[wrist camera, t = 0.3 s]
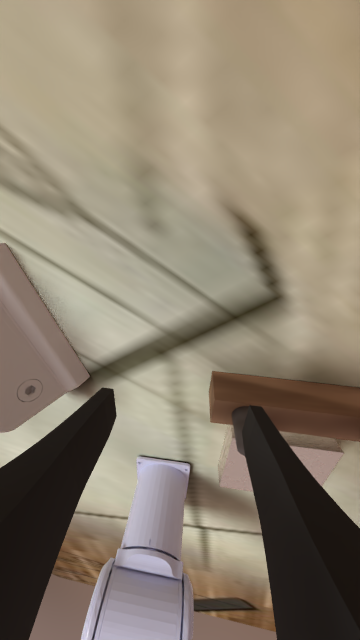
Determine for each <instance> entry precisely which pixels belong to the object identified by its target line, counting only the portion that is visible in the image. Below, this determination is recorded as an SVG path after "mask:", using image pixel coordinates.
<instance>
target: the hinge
mask: <svg viewBox="0 0 360 640" xmlns="http://www.w3.org/2000/svg"><path fill="white" fill-rule="evenodd" d="M89 377H90V375H89V374H88V372H87V371H86V369H85V367H84V366H83V364H82V363H81V361H80V360H79V358H78V356H77V355H76V353H75V352H74V350H73V349H72V347H71V346H70V344H69V342H68V341H67V339H66V338H65V336H64V335H63V333H62V331H61V330H60V328H59V327H58V325H57V324H56V322H55V320H54V319H53V317H52V316H51V314H50V313H49V311H48V309H47V308H46V306H45V305H44V303H43V302H42V300H41V299H40V297H39V295H38V294H37V292H36V291H35V289H34V288H33V286H32V284H31V283H30V281H29V280H28V278H27V277H26V275H25V273H24V272H23V270H22V269H21V267H20V266H19V264H18V262H17V261H16V259H15V258H14V256H13V255H12V253H11V252H10V250H9V248H8V247H7V245H6V244H5V243H1V244H0V433H2V432H9V431H12V430H14V429H16V428H17V427H19V426H20V425H22V424H23V423H24V422H26V421H27V420H29V419H30V418H31V417H33V416H34V415H36V414H37V413H38V412H40V411H41V410H43V409H44V408H46V407H47V406H48V405H50V404H51V403H53V402H54V401H55V400H57V399H58V398H60V397H61V396H62V395H64V394H65V393H67V392H69V391H71V390H73V389H75V388H77V387H79V386H80V385H81V384H82V383H83V382H85V381H86V380H87V379H88V378H89Z"/></svg>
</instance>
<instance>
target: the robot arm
mask: <svg viewBox="0 0 360 640" xmlns="http://www.w3.org/2000/svg"><path fill="white" fill-rule="evenodd" d="M115 419H116V407H115V399H114V391H113V389H108V388H102V389H100V390H99V391H98V392H97V393H96V394H95V395H94V396H92V397H91V398H90V399H89V400H88V401H87V402H86V403H85V404H83V405H82V406H81V407H80V408H79V409H78V410H77V411H75V412H74V413H73V414H72V415H71V416H70V417H68V418H67V419H66V420H65V421H64V422H63V423H61V424H60V425H59V426H58V427H56V428H55V429H54V430H53V431H51V432H50V433H49V434H48V435H46V436H45V437H44V438H42V439H41V440H40V441H38V442H37V443H36V444H34V445H33V446H32V447H30V448H29V449H28V450H26V451H25V452H23V453H22V454H21V455H19V456H18V457H16V458H15V459H13V460H12V461H10V462H9V463H7V464H6V465H4V466H3V467H1V468H0V640H29V637H30V634H31V631H32V628H33V625H34V622H35V619H36V616H37V613H38V610H39V607H40V604H41V602H42V599H43V596H44V592H45V590H46V587H47V584H48V582H49V579H50V576H51V573H52V570H53V568H54V565H55V562H56V559H57V556H58V554H59V551H60V548H61V546H62V543H63V540H64V538H65V535H66V532H67V530H68V527H69V525H70V522H71V519H72V517H73V514H74V512H75V509H76V507H77V504H78V502H79V499H80V497H81V494H82V492H83V490H84V488H85V485H86V483H87V481H88V479H89V477H90V475H91V473H92V471H93V469H94V467H95V465H96V463H97V461H98V459H99V456H100V454H101V452H102V450H103V448H104V446H105V444H106V442H107V440H108V438H109V435H110V433H111V430H112V427H113V425H114V422H115ZM242 437H243V445H244V452H245V458H246V462H247V466H248V471H249V475H250V479H251V484H252V488H253V492H254V496H255V501H256V505H257V509H258V514H259V519H260V524H261V529H262V536H263V542H264V548H265V555H266V561H267V568H268V575H269V582H270V589H271V596H272V604H273V611H274V619H275V627H276V634H277V640H360V528H359V527H358V526H357V525H356V524H355V523H354V522H353V521H352V520H351V519H350V518H349V517H348V516H347V515H346V513H345V512H344V511H343V510H342V509H341V508H340V507H339V506H338V505H337V504H336V502H335V501H334V500H333V499H332V498H331V497H330V496H329V494H328V493H327V492H326V491H325V490H324V489H323V488H322V486H321V485H320V484H319V483H318V482H317V480H316V479H315V478H314V477H313V476H312V474H311V473H310V472H309V471H308V469H307V468H306V467H305V466H304V464H303V463H302V462H301V460H300V459H299V458H298V457H297V455H296V454H295V453H294V451H293V450H292V449H291V447H290V446H289V445H288V443H287V442H286V441H285V439H284V438H283V436H282V435H281V434H280V432H279V431H278V429H277V428H276V426H275V425H274V424H273V422H272V421H271V419H270V418H269V416H268V415H267V413H266V412H265V410H264V409H263V408H262V406H253V405H249V408H248V412H247V415H246V419H245V423H244V426H243V430H242ZM189 473H190V464H188V463H182V462H175V461H169V460H162V459H155V458H148V457H141V456H139V457H137V476H138V482H137V486H136V490H135V494H134V498H133V502H132V506H131V509H130V513H129V517H128V521H127V525H126V529H125V533H124V537H123V541H122V545H121V549H120V548H119V549H118V551H117V555H116V559H114V558H110V559H109V561H108V562H107V563H106V564H105V565H104V566H103V568H102V570H101V572H100V575H99V578H98V581H97V583H96V586H95V590H94V593H93V596H92V599H91V603H90V606H89V610H88V614H87V617H86V621H85V624H84V628H83V632H82V637H81V640H193V589H192V584H191V582H190V580H189V577H188V575H187V574H185V573H183V562H182V561H181V549H182V533H183V517H184V501H185V499H186V494H187V487H188V480H189Z"/></svg>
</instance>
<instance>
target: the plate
mask: <svg viewBox="0 0 360 640" xmlns="http://www.w3.org/2000/svg"><path fill="white" fill-rule="evenodd" d="M279 432H280V434H281V435H282V436H283V438H284V439H285V441H286V442H287V443H288V445H289V446H290V447H291V449H292V450H293V451H294V453H295V454H296V455H297V457H298V458H299V459H300V460H301V462H302V463H303V464H304V466H305V467H306V468H307V469H308V471H309V472H310V473H311V474H312V476H313V477H314V478H315V479H316V480H317V482H318V483H319V484H320V485H321V486H322V485H323V483H324V482H325V480H326V479H327V477H328V476H329V475H330V473H331V472H332V470H333V469H334V467H335V466H336V464H337V463H338V461H339V460H340V458H341V457H342V455H343V454H344V452H343V451H342V449H341V448H340V446H339V445H338V443H337V441H336V440H335V438H328V437H320V436H313V435H305V434H297V433H290V432H282V431H279ZM218 475H219V487H226V488H233V489H239V490H246V491H253V488H252V484H251V479H250V475H249V471H248V466H247V462H246V458H245V456H243V455H242V454H240V453H239V452H238V450H237V446H236V440H235V434H234V428H233V425H228V426H227V430H226V434H225V438H224V442H223V446H222V450H221V455H220V459H219V463H218Z"/></svg>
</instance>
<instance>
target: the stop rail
mask: <svg viewBox="0 0 360 640" xmlns="http://www.w3.org/2000/svg"><path fill="white" fill-rule="evenodd" d="M209 402H210V422H213V423H220V424H228V425H233V428H234V434H235V440H236V446H237V450H238V452H239V453H240V454H242V455H243V456H245V452H244V445H243V437H242V430H243V426H244V423H245V419H246V415H247V412H248V408H249V405H253V406H262V408H263V409H264V410H265V412H266V413H267V415H268V416H269V418H270V419H271V421H272V422H273V424H274V425H275V426H276V428H277V429H278V431H282V432H290V433H297V434H305V435H313V436H320V437H328V438H336V439H343V440H351V441H359V442H360V388H357V387H348V386H339V385H331V384H322V383H313V382H304V381H295V380H286V379H277V378H268V377H259V376H251V375H242V374H233V373H224V372H215V371H212V376H211V382H210V389H209Z"/></svg>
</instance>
